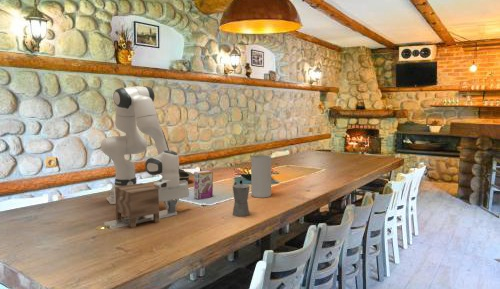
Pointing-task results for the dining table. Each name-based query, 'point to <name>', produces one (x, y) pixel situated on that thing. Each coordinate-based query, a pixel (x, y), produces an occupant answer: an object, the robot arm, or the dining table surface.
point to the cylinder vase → (261, 176)
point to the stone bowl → (184, 175)
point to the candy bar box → (203, 184)
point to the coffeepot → (240, 199)
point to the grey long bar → (143, 217)
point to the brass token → (101, 227)
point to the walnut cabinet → (137, 202)
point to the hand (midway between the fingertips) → (171, 207)
